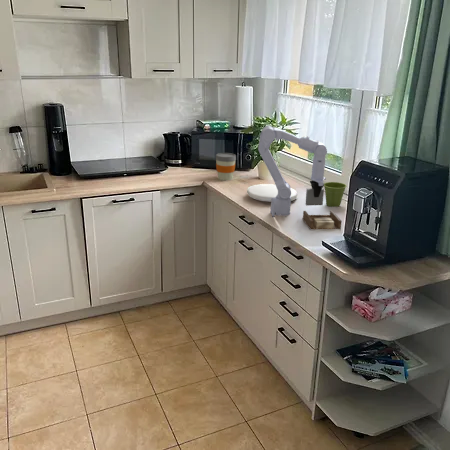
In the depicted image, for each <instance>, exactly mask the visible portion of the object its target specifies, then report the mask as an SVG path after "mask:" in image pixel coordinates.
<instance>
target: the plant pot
mask: <svg viewBox="0 0 450 450" xmlns="http://www.w3.org/2000/svg"><path fill="white" fill-rule="evenodd" d="M346 188H347V184H346V183H343V182H338V181H327V182H324V186H323V189H324V192H325V193H324V194H325V204H326V206H327V207H329V208H332V207H333V208H334V207H336V208H338V207H341V205H342V200H343V197H344V193H345V190H346Z"/></svg>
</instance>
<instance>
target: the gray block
mask: <svg viewBox="0 0 450 450" xmlns="http://www.w3.org/2000/svg"><path fill="white" fill-rule="evenodd" d="M305 192H306V193H305V202H304V204H305V206H307V207H308V206H323V204H324V203H323V202H324V194H325V193H324V192H325V188H324V187H323V188H322V190H321V192H320V195H319V197H314V189H313V188H312V187H311V188H306V191H305Z"/></svg>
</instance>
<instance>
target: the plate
mask: <svg viewBox="0 0 450 450" xmlns="http://www.w3.org/2000/svg"><path fill="white" fill-rule="evenodd" d="M290 190H291V202H292V201H294V200H297V198H298V192H297V190H296V189H294V188H292V187H290ZM246 193H247V195H248V197H250V198H251V199H254V200H257V201H261V202H268V203H271V199H272V198H275V197H276V196H277V195H278V190H277V187H276V185H275V183H274V184H273V183H261V184H254V185H251V186H248V187H247V190H246Z"/></svg>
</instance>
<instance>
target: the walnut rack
mask: <svg viewBox="0 0 450 450" xmlns="http://www.w3.org/2000/svg"><path fill="white" fill-rule="evenodd" d="M315 218H331V219H332V221H334V228H318V229H316V227H315V226H314V225H313V223H314V219H315ZM302 220H303V221H304V223H305V224H306V225H307V226H308V228H309V229H310V230H341V229H342V219H341V218H340V217H339V216H338V215H337V214H336V213H335V212H334V211H333V210H330V211H329V214H309V213H308V212H307V211H306V210H303V213H302Z"/></svg>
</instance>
